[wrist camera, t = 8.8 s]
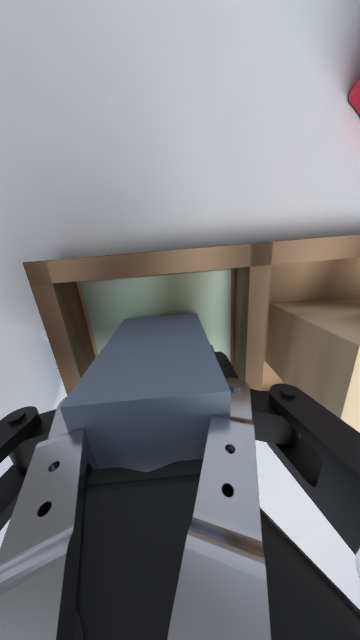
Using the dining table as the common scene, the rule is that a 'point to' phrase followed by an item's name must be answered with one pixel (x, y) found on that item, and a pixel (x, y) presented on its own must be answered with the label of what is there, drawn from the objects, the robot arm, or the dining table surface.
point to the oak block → (319, 351)
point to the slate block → (150, 394)
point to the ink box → (355, 96)
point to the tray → (189, 296)
